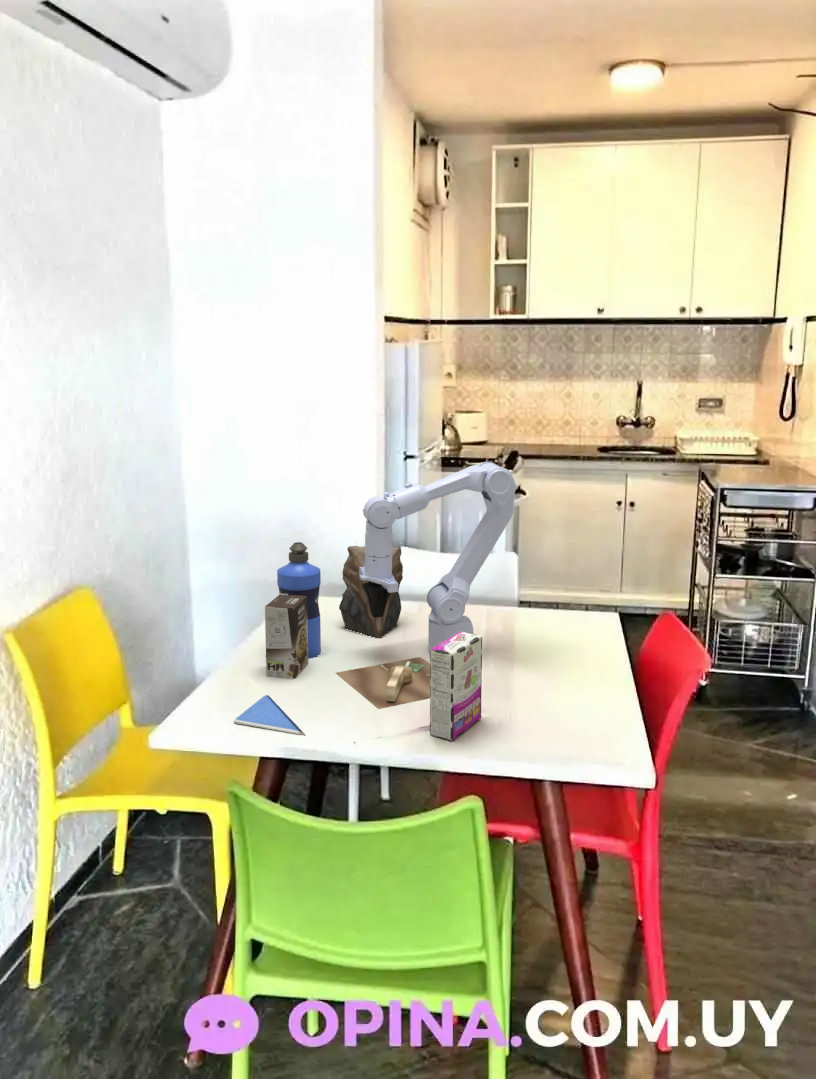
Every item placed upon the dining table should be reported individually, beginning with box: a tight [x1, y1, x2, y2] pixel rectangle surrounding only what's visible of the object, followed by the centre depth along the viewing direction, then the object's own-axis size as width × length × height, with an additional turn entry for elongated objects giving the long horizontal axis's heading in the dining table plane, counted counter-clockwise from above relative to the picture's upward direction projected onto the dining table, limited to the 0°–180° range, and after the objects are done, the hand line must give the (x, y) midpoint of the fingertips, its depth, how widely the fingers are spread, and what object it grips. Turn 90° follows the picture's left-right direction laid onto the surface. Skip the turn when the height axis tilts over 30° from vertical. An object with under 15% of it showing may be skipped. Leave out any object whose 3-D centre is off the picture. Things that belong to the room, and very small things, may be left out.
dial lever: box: [386, 661, 412, 701], centre depth 175 cm, size 20×4×3 cm, turn 170°
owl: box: [338, 545, 404, 639], centre depth 210 cm, size 13×13×20 cm
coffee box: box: [264, 594, 309, 680], centre depth 180 cm, size 9×6×16 cm
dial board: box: [335, 656, 430, 710], centre depth 176 cm, size 20×20×1 cm
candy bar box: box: [429, 632, 483, 742], centre depth 157 cm, size 11×5×16 cm, turn 148°
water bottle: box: [276, 541, 322, 660], centre depth 192 cm, size 9×9×25 cm
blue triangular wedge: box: [233, 694, 307, 737], centre depth 162 cm, size 19×13×1 cm, turn 71°
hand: (377, 616), depth 187 cm, fingers closed
